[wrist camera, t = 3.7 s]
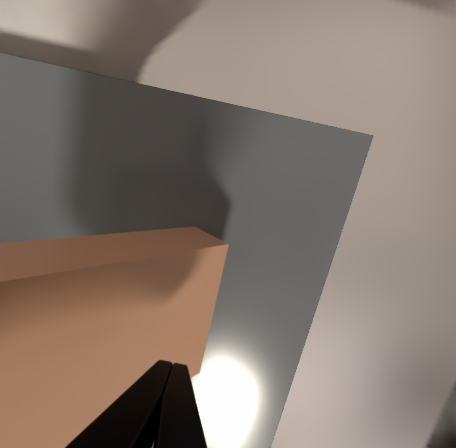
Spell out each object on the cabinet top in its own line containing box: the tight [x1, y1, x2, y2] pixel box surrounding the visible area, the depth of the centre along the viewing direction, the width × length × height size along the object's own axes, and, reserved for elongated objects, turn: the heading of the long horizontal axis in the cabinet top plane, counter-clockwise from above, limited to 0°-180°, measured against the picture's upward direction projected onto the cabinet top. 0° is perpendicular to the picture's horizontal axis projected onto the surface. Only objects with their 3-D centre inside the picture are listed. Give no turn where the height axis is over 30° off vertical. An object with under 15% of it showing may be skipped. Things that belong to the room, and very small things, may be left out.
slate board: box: [0, 53, 373, 448], centre depth 14 cm, size 16×18×1 cm
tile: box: [0, 226, 229, 448], centre depth 10 cm, size 2×6×7 cm
